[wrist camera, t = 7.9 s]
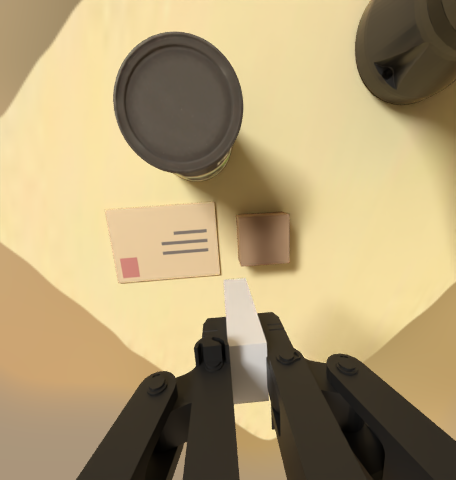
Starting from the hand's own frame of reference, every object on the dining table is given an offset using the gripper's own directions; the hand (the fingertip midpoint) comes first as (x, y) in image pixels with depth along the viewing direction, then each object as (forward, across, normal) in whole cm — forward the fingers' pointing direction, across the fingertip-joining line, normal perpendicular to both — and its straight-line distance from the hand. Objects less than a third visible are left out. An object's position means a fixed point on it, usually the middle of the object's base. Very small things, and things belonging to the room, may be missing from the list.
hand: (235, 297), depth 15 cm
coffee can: (+20, +3, -14) cm, 25 cm away
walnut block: (+20, -5, 0) cm, 21 cm away
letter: (+20, +9, 0) cm, 22 cm away
